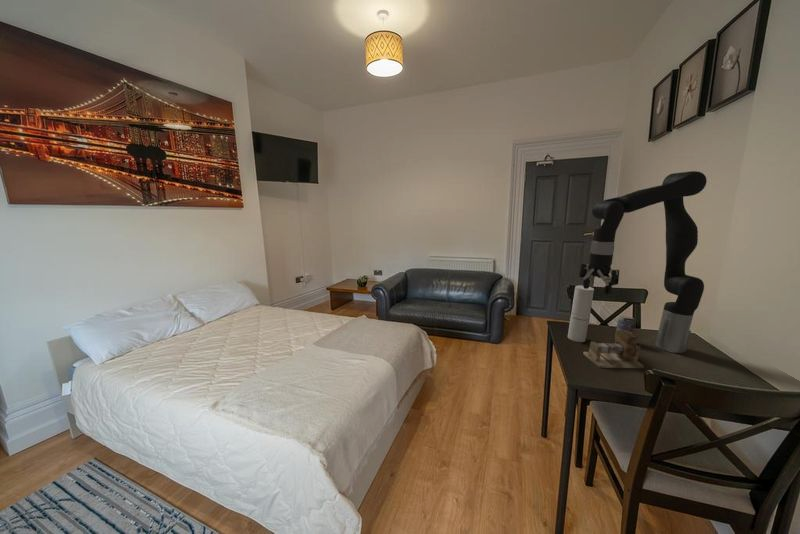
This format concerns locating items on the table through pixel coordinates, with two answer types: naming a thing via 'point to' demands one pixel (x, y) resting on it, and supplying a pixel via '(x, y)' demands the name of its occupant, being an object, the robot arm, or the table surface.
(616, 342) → the brown rectangular block
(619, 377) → the table surface
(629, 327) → the beverage can
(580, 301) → the cylindrical container
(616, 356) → the pipe rack
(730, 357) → the table surface
